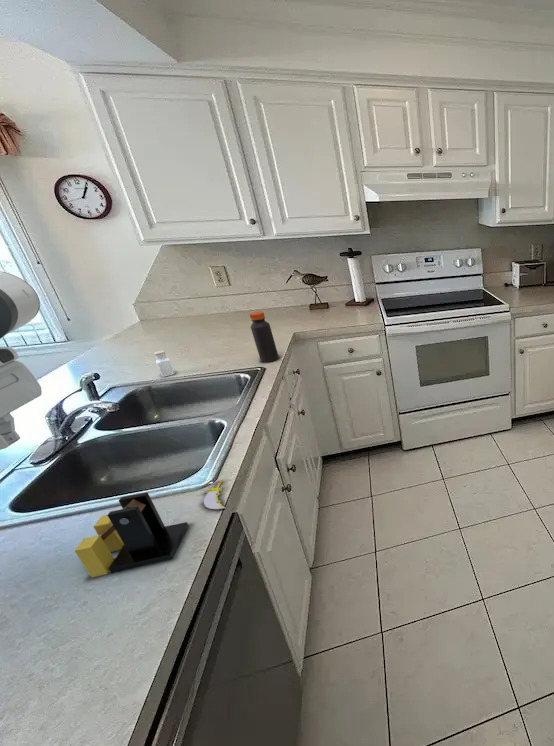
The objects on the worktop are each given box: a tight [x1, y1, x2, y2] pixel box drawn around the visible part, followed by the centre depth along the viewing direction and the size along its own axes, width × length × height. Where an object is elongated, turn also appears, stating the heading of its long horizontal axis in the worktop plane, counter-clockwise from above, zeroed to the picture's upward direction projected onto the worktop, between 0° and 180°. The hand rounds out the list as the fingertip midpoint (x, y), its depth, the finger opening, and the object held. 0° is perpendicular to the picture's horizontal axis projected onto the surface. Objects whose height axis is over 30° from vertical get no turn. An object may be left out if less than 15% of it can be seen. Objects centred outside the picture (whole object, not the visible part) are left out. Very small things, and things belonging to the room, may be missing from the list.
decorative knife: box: [203, 479, 227, 510], centre depth 96 cm, size 12×1×5 cm
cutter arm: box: [100, 499, 146, 541], centre depth 79 cm, size 15×3×3 cm
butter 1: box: [92, 514, 124, 553], centre depth 82 cm, size 2×3×7 cm
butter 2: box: [74, 534, 115, 578], centre depth 77 cm, size 2×3×7 cm
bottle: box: [249, 310, 280, 363], centre depth 167 cm, size 7×7×20 cm
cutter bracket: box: [106, 491, 190, 574], centre depth 80 cm, size 10×9×12 cm
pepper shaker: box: [153, 350, 176, 378], centre depth 158 cm, size 4×4×10 cm
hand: (8, 444), depth 68 cm, fingers closed
